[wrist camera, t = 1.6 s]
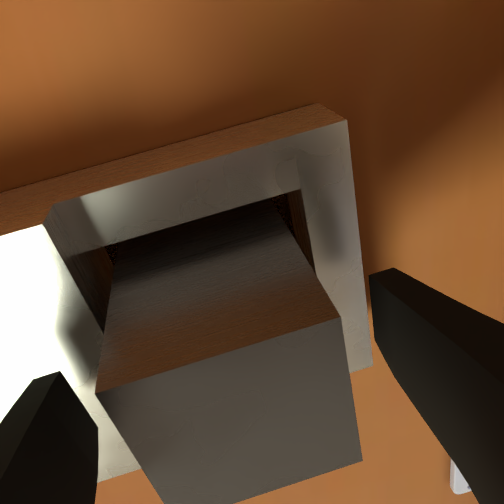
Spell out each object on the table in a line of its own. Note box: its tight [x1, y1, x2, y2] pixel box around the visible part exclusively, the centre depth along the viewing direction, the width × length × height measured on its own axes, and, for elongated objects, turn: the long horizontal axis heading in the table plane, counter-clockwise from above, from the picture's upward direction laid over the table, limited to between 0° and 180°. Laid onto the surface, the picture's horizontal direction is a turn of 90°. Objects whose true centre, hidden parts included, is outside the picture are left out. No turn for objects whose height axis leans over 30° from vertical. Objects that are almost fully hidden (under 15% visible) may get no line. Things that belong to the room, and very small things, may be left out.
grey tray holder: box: [0, 103, 373, 483], centre depth 12 cm, size 16×8×3 cm, turn 103°
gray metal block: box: [94, 198, 363, 504], centre depth 11 cm, size 4×4×6 cm
